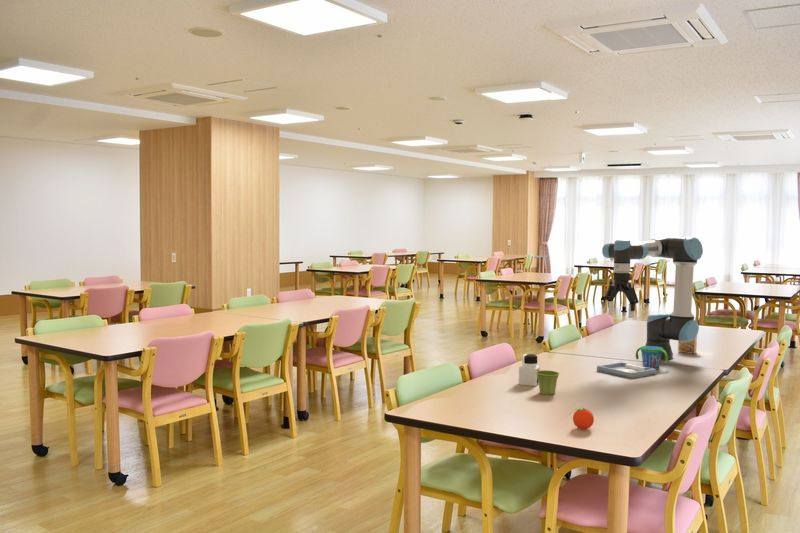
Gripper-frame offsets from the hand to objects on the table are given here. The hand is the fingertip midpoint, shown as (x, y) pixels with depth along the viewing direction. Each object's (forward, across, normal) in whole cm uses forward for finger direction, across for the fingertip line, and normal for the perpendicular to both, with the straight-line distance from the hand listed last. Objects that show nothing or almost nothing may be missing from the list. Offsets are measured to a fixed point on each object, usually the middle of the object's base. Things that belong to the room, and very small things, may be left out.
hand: (620, 316), depth 328 cm
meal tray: (+26, +4, 0) cm, 27 cm away
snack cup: (+27, +1, +20) cm, 33 cm away
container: (+26, +5, -57) cm, 63 cm away
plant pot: (+26, +23, -60) cm, 70 cm away
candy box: (+27, -24, +70) cm, 79 cm away
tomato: (+26, +70, -81) cm, 110 cm away
